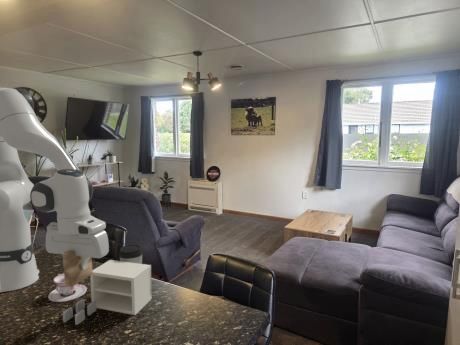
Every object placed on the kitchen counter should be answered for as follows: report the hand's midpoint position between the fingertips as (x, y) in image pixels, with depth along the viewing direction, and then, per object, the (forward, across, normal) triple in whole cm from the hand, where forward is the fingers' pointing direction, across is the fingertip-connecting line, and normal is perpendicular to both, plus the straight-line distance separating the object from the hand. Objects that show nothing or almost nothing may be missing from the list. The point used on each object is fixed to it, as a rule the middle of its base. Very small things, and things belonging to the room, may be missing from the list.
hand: (78, 268), depth 91 cm
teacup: (+16, -15, +10) cm, 24 cm away
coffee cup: (+16, +4, +20) cm, 26 cm away
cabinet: (+16, +6, +5) cm, 18 cm away
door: (+4, 0, 0) cm, 4 cm away
